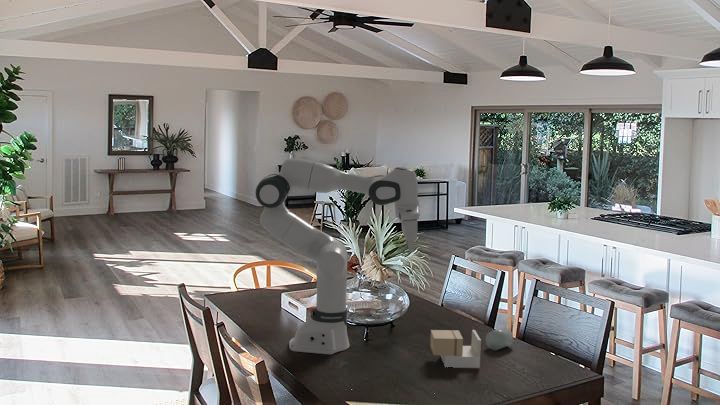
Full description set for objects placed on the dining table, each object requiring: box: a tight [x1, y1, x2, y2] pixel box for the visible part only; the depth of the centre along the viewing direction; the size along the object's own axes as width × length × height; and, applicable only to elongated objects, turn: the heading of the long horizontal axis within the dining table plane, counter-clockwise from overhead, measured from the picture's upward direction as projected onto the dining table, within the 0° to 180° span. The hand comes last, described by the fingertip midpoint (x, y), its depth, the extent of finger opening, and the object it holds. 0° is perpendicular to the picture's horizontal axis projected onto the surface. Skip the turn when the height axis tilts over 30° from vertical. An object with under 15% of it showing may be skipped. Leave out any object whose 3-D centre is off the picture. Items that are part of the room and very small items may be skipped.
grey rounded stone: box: [485, 326, 514, 351], centre depth 247 cm, size 7×7×8 cm
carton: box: [429, 329, 464, 356], centre depth 230 cm, size 10×9×6 cm
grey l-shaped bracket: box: [440, 329, 482, 369], centre depth 231 cm, size 12×11×10 cm
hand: (410, 248), depth 240 cm, fingers open, 8 cm apart
